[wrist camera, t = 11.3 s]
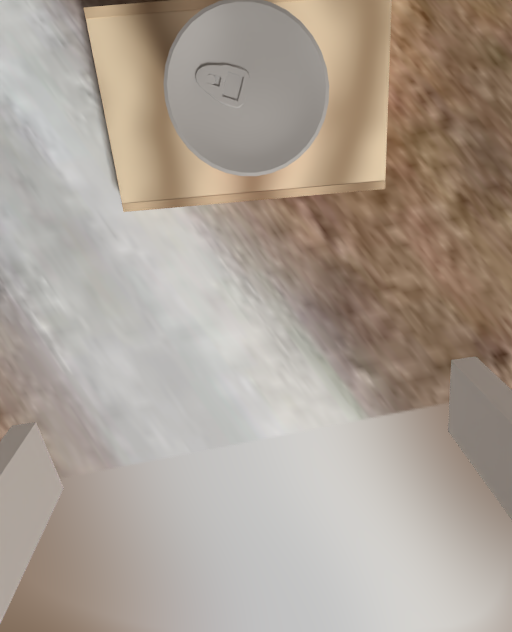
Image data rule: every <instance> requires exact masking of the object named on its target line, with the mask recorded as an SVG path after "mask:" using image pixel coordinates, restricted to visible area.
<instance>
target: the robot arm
mask: <svg viewBox="0 0 512 632" xmlns="http://www.w3.org/2000/svg"><path fill="white" fill-rule="evenodd" d="M448 432H449V433H450V434H451V436H452V437H453V438H454V440H455V441H456V443H457V444H458V446H459V447H460V448H461V450H462V451H463V453H464V454H465V455H466V457H467V458H468V460H469V461H470V462H471V464H472V465H473V467H474V468H475V469H476V471H477V472H478V474H479V475H480V476H481V478H482V479H483V480H484V482H485V483H486V485H487V486H488V487H489V489H490V490H491V492H492V493H493V494H494V496H495V497H496V498H497V500H498V501H499V503H500V504H501V506H502V507H503V508H504V510H505V511H506V513H507V514H508V515H509V517H510V518H511V519H512V390H511V389H510V388H509V387H508V386H507V385H506V384H505V383H504V382H503V381H501V380H500V379H499V378H498V377H497V376H496V375H495V374H494V373H493V372H492V371H491V370H490V369H489V368H488V367H486V366H485V365H484V364H483V363H482V362H481V361H480V360H479V359H478V358H477V357H469V358H463V359H456V360H451V379H450V402H449V427H448ZM63 489H64V488H63V485H62V483H61V481H60V478H59V476H58V473H57V471H56V469H55V466H54V464H53V462H52V459H51V457H50V454H49V452H48V450H47V447H46V445H45V443H44V440H43V438H42V435H41V433H40V431H39V428H38V426H37V424H36V422H34V423H27V424H21V425H14V426H11V428H10V429H9V430H8V432H7V433H6V434H5V436H4V437H3V438H2V440H1V441H0V623H1V621H2V619H3V617H4V615H5V612H6V610H7V608H8V606H9V604H10V602H11V600H12V597H13V595H14V593H15V591H16V589H17V587H18V584H19V583H20V580H21V578H22V576H23V574H24V572H25V570H26V568H27V565H28V563H29V561H30V559H31V557H32V555H33V553H34V550H35V548H36V546H37V544H38V542H39V540H40V538H41V536H42V533H43V531H44V529H45V527H46V525H47V523H48V521H49V518H50V516H51V514H52V512H53V510H54V508H55V505H56V503H57V501H58V499H59V497H60V495H61V493H62V490H63Z"/></svg>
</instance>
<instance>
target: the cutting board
mask: <svg viewBox="0 0 512 632" xmlns="http://www.w3.org/2000/svg"><path fill="white" fill-rule="evenodd" d="M218 1H222V0H167V1H155V2H144V3H132V4H120V5H108V6H96V7H84V13H85V18H86V22H87V27H88V32H89V37H90V42H91V48H92V53H93V58H94V63H95V68H96V73H97V78H98V83H99V88H100V93H101V98H102V103H103V109H104V114H105V119H106V124H107V129H108V134H109V139H110V144H111V149H112V154H113V159H114V165H115V170H116V175H117V180H118V185H119V190H120V195H121V200H122V206H123V211H124V212H127V211H139V210H150V209H161V208H173V207H184V206H196V205H207V204H218V203H230V202H241V201H252V200H264V199H275V198H287V197H298V196H309V195H321V194H332V193H344V192H355V191H366V190H378V189H385V170H386V142H387V115H388V87H389V59H390V31H391V4H392V0H264V1H268V2H272V3H274V4H276V5H278V6H280V7H282V8H284V9H286V10H287V11H289V12H290V13H291V14H292V15H294V16H295V17H296V18H297V19H299V20H300V21H301V22H302V23H303V24H304V26H305V27H306V28H307V29H308V30H309V32H310V33H311V34H312V35H313V37H314V39H315V41H316V42H317V44H318V46H319V48H320V50H321V52H322V55H323V58H324V61H325V64H326V67H327V73H328V80H329V103H328V107H327V112H326V116H325V120H324V122H323V125H322V127H321V129H320V131H319V134H318V135H317V137H316V138H315V140H314V141H313V143H312V144H311V146H310V147H309V148H308V149H307V150H306V151H305V152H304V153H303V154H302V155H301V156H300V157H299V158H298V159H297V160H296V161H294V162H293V163H291V164H290V165H288V166H287V167H285V168H283V169H280V170H278V171H275V172H273V173H270V174H265V175H260V176H238V175H233V174H228V173H225V172H222V171H220V170H218V169H215V168H213V167H211V166H210V165H208V164H206V163H205V162H203V161H202V160H200V159H199V158H198V157H197V156H196V155H195V154H194V153H193V152H192V151H191V150H189V149H188V148H187V146H186V145H185V144H184V142H183V141H182V139H181V138H180V137H179V135H178V134H177V132H176V130H175V128H174V126H173V124H172V122H171V119H170V117H169V113H168V110H167V106H166V103H165V95H164V84H163V83H164V72H165V64H166V61H167V57H168V54H169V51H170V48H171V46H172V44H173V42H174V40H175V38H176V36H177V34H178V33H179V31H180V30H181V29H182V28H183V27H184V25H185V24H186V23H187V22H188V20H189V19H190V18H192V17H193V16H194V15H196V14H197V13H198V12H199V11H201V10H202V9H203V8H205V7H207V6H210V5H212V4H214V3H216V2H218Z"/></svg>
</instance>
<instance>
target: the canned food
mask: <svg viewBox="0 0 512 632" xmlns="http://www.w3.org/2000/svg"><path fill="white" fill-rule="evenodd" d="M163 84H164V95H165V103H166V106H167V110H168V113H169V117H170V119H171V122H172V124H173V126H174V128H175V130H176V132H177V134H178V135H179V137H180V138H181V139H182V141H183V142H184V144H185V145H186V146H187V148H188V149H189V150H191V151H192V152H193V153H194V154H195V155H196V156H197V157H198V158H199V159H200V160H202V161H203V162H205V163H206V164H208V165H210V166H211V167H213V168H215V169H218V170H220V171H222V172H225V173H228V174H233V175H238V176H260V175H265V174H270V173H273V172H275V171H278V170H280V169H283V168H285V167H287V166H288V165H290V164H291V163H293V162H294V161H296V160H297V159H298V158H299V157H300V156H301V155H302V154H303V153H304V152H305V151H306V150H307V149H308V148H309V147H310V146H311V144H312V143H313V141H314V140H315V138H316V137H317V135H318V134H319V131H320V129H321V127H322V125H323V122H324V120H325V116H326V112H327V107H328V103H329V80H328V73H327V67H326V64H325V61H324V58H323V55H322V52H321V50H320V48H319V46H318V44H317V42H316V41H315V39H314V37H313V35H312V34H311V33H310V32H309V30H308V29H307V28H306V27H305V26H304V24H303V23H302V22H301V21H300V20H299V19H297V18H296V17H295V16H294V15H292V14H291V13H290V12H289V11H287V10H286V9H284V8H282V7H280V6H278V5H276V4H274V3H272V2H268V1H264V0H222V1H218V2H216V3H214V4H212V5H210V6H207V7H205V8H203V9H202V10H201V11H199V12H198V13H197V14H196V15H194V16H193V17H192V18H190V19H189V20H188V22H187V23H186V24H185V25H184V27H183V28H182V29H181V30H180V31H179V33H178V34H177V36H176V38H175V40H174V42H173V44H172V46H171V48H170V51H169V54H168V57H167V61H166V64H165V72H164V83H163Z"/></svg>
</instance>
